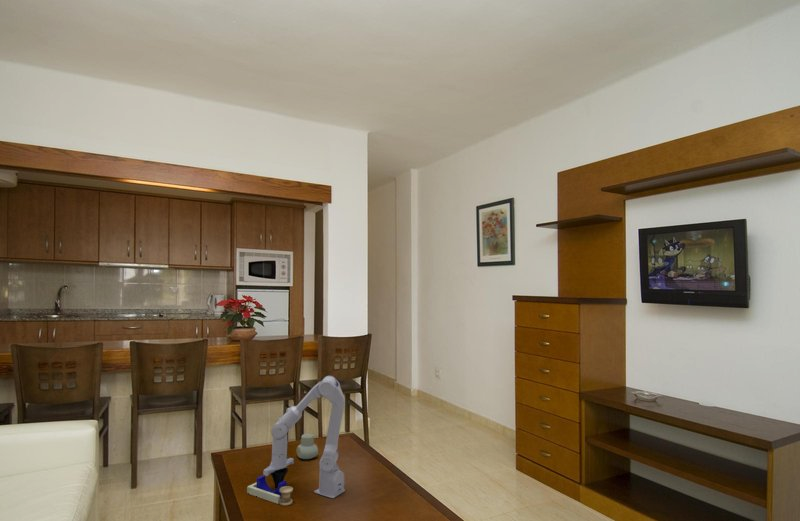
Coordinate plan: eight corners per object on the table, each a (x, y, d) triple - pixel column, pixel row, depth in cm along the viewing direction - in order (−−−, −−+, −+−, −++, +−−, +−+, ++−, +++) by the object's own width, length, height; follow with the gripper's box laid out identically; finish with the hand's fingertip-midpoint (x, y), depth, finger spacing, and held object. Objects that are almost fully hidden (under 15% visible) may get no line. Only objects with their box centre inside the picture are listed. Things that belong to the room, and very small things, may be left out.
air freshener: (295, 454, 218) (295, 433, 219) (312, 451, 222) (312, 430, 223) (301, 462, 209) (302, 440, 209) (319, 459, 213) (319, 437, 213)
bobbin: (295, 501, 171) (295, 487, 172) (286, 506, 167) (286, 492, 167) (285, 498, 174) (286, 484, 174) (276, 503, 170) (276, 489, 170)
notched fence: (291, 496, 175) (291, 489, 175) (277, 504, 169) (278, 497, 169) (260, 486, 183) (261, 480, 184) (247, 493, 177) (247, 486, 177)
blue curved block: (288, 495, 176) (289, 479, 177) (280, 500, 172) (281, 484, 173) (264, 489, 182) (264, 473, 182) (256, 493, 177) (256, 478, 178)
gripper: (285, 445, 189) (283, 479, 188) (258, 456, 177) (256, 492, 176) (298, 448, 186) (296, 483, 185) (271, 460, 173) (270, 497, 172)
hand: (278, 488), depth 180 cm, fingers closed
